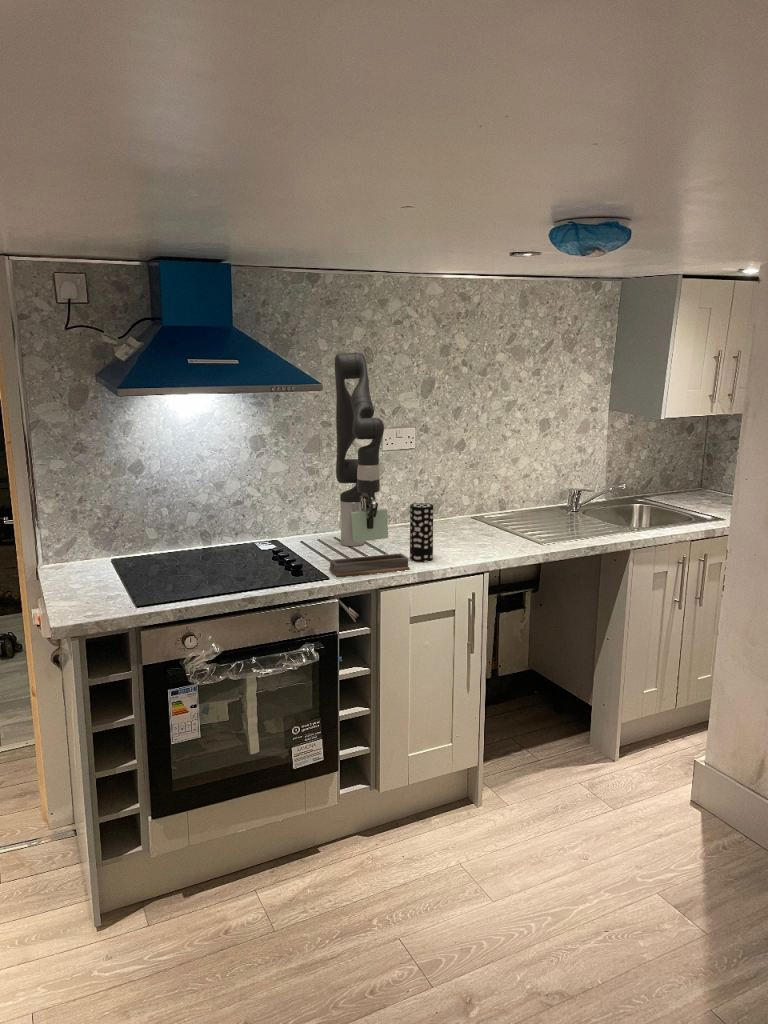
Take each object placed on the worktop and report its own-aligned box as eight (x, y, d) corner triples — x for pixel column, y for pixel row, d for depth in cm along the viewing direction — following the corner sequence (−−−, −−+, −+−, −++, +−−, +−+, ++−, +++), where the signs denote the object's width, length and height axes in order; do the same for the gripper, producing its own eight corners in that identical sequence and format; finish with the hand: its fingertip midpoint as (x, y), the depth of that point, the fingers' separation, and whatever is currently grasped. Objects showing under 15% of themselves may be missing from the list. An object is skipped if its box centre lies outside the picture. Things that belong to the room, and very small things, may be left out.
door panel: (352, 540, 266) (351, 512, 264) (386, 536, 270) (384, 508, 268) (354, 542, 264) (353, 513, 262) (388, 537, 268) (386, 509, 265)
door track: (329, 569, 269) (328, 558, 269) (399, 563, 278) (399, 552, 277) (336, 578, 260) (336, 566, 259) (409, 570, 268) (409, 559, 268)
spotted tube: (406, 557, 285) (406, 504, 280) (427, 555, 288) (427, 502, 283) (415, 563, 277) (415, 508, 273) (436, 561, 280) (437, 506, 276)
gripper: (351, 475, 267) (352, 524, 271) (363, 481, 255) (364, 533, 258) (372, 473, 270) (373, 522, 273) (385, 480, 257) (385, 531, 260)
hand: (368, 527), depth 266 cm, fingers closed on door panel, 2 cm apart
